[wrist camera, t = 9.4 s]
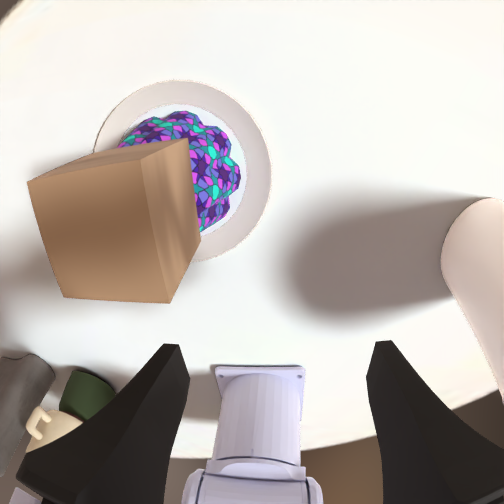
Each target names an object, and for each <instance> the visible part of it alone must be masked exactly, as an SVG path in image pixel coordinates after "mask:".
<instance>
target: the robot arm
mask: <svg viewBox="0 0 504 504" xmlns="http://www.w3.org/2000/svg"><path fill="white" fill-rule="evenodd" d="M215 375H216V379H217V383H218V387H219V391H220V394H221V398H222V405H221V410H220V416H219V421H218V427H217V432H216V438H215V443H214V449H213V454H212V460H208V461H207V466H206V470H205V469H197V470H196V471H195V472H194V473H192V474H191V475H190V476H189V477H188V479H187V482H186V485H185V488H184V492H183V497H182V502H181V504H323V496H322V491H321V487H320V486H319V484H318V483H317V482H316V481H315V480H314V479H313V478H312V477H305V467H300V421H301V417H302V407H303V396H304V384H305V368H303V367H226V366H218V367H216V368H215ZM366 381H367V389H368V397H369V403H370V407H371V412H372V416H373V420H374V424H375V429H376V433H377V438H378V442H379V447H380V452H381V459H382V472H383V504H503V503H504V498H503V495H504V449H502V448H500V447H498V446H497V445H495V444H494V443H492V442H491V441H489V440H487V439H486V438H484V437H483V436H481V435H480V434H479V433H477V432H476V431H475V430H474V429H472V428H471V427H470V426H468V425H467V424H466V423H464V422H463V421H462V420H461V419H460V418H459V417H458V416H456V415H455V414H454V413H453V412H452V411H451V410H450V409H449V408H448V407H447V406H446V405H445V404H444V403H443V402H442V401H441V400H440V399H439V398H438V397H437V395H436V394H435V393H434V392H433V391H432V390H431V389H430V388H429V387H428V385H427V384H426V383H425V382H424V381H423V379H422V378H421V377H420V376H419V375H418V373H417V372H416V371H415V370H414V369H413V367H412V366H411V365H410V363H409V362H408V361H407V360H406V358H405V357H404V356H403V354H402V353H401V352H400V351H399V349H398V348H397V347H396V345H395V344H394V343H393V342H392V341H391V340H389V341H378V342H376V343H375V347H374V351H373V354H372V358H371V362H370V365H369V369H368V372H367V376H366ZM189 383H190V377H189V374H188V371H187V368H186V365H185V362H184V359H183V356H182V353H181V350H180V347H179V344H163V345H162V346H161V347H160V348H159V349H158V350H157V352H156V353H155V354H154V355H153V356H152V357H151V359H150V360H149V361H148V362H147V363H146V364H145V365H144V367H143V368H142V369H141V370H140V371H139V372H138V373H137V374H136V375H135V376H134V378H133V379H132V380H131V381H130V382H129V383H128V384H127V385H126V386H125V387H124V388H123V389H122V390H121V391H120V392H119V393H118V394H117V395H116V396H115V397H114V398H113V399H112V400H111V401H110V402H109V403H108V404H106V405H105V406H104V407H103V408H102V409H101V410H99V411H98V412H97V413H96V414H95V415H93V416H92V417H91V418H89V419H88V420H87V421H85V422H84V423H82V424H81V425H79V426H78V427H76V428H75V429H73V430H72V431H70V432H69V433H67V434H65V435H64V436H62V437H60V438H58V439H56V440H54V441H52V442H50V443H48V444H46V445H44V446H42V447H39V448H37V449H35V450H32V451H30V452H27V453H26V455H25V457H24V459H23V461H22V463H21V465H20V468H19V470H18V472H17V474H16V479H17V480H18V481H20V482H21V483H22V484H24V485H25V486H27V487H28V488H30V489H31V490H33V491H34V492H36V493H37V494H39V495H40V496H42V497H43V500H42V502H41V501H39V500H37V499H36V498H34V497H32V496H30V495H29V494H27V493H26V492H24V491H23V490H21V489H19V488H18V487H16V488H15V490H14V493H13V495H12V498H11V500H10V503H9V504H163V502H164V493H165V484H166V478H167V471H168V465H169V459H170V455H171V451H172V447H173V444H174V440H175V437H176V434H177V431H178V427H179V424H180V421H181V418H182V414H183V411H184V408H185V404H186V401H187V395H188V389H189Z"/></svg>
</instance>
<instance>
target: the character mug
mask: <svg viewBox="0 0 504 504" xmlns="http://www.w3.org/2000/svg"><path fill="white" fill-rule="evenodd" d="M115 396H116V395H115V392H114V391H113V389H112V388H111V387H110V386H109V385H108V384H107V383H105V382H104V381H102V380H101V379H99V378H97V377H95V376H92V375H90V374H88V373H84V372H80V371H72V374H71V376H70V378H69V380H68V382H67V385H66V387H65V390H64V393H63V395H62V398H61V401H60V404H59V411H57V410H49V411H47V412H46V411H45V410H44V409H43V408H41V407H39V406H38V407H36V408H35V409H34V410H33V412H32V414H31V416H30V418H29V419H28V421H27V423H26V429H27V430H28V432H29V433H30V434H32V439H31V441H30V443H29V445H28V447H27V449H26V453H27V452H30V451H32V450H35V449H37V448H39V447H42V446H44V445H46V444H48V443H50V442H52V441H54V440H56V439H58V438H60V437H62V436H64V435H65V434H67V433H69V432H70V431H72V430H73V429H75V428H76V427H78V426H79V425H81V424H82V423H84V422H85V421H87V420H88V419H89V418H91V417H92V416H93V415H95V414H96V413H97V412H98V411H99V410H101V409H102V408H103V407H104V406H105V405H106V404H108V403H109V402H110V401H111V400H112V399H113V398H114V397H115ZM40 418H41V419H40ZM39 419H40V421H39ZM38 421H39V423H38ZM37 423H38V424H37ZM36 425H37V426H36Z"/></svg>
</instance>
